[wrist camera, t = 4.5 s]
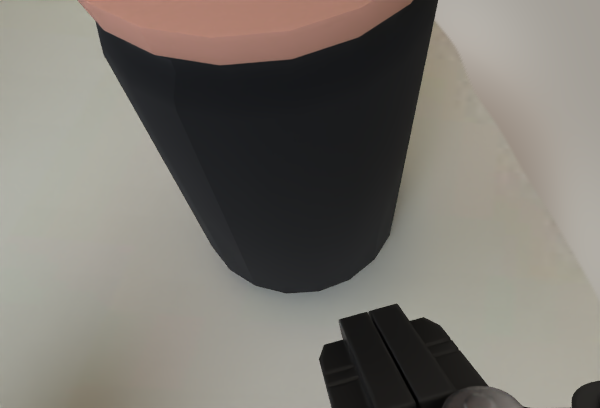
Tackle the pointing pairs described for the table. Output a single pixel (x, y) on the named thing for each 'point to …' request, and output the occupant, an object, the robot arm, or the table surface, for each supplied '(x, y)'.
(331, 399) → the robot arm
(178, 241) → the table surface
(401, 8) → the coffee jar
